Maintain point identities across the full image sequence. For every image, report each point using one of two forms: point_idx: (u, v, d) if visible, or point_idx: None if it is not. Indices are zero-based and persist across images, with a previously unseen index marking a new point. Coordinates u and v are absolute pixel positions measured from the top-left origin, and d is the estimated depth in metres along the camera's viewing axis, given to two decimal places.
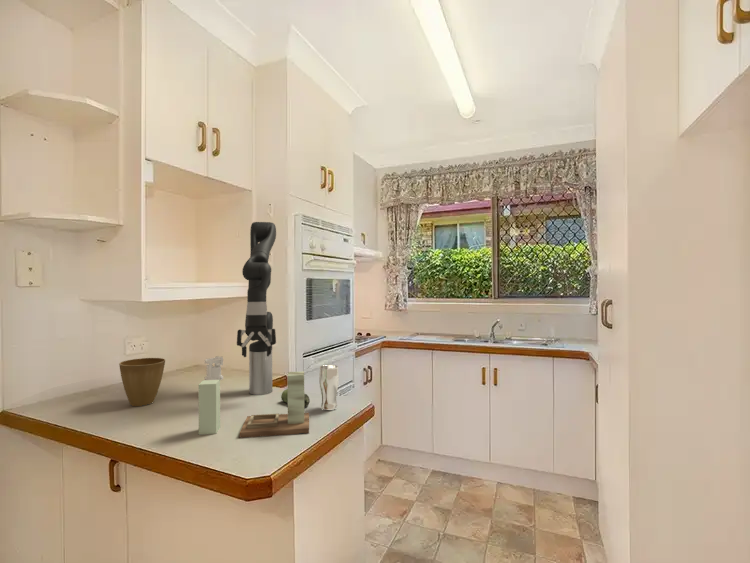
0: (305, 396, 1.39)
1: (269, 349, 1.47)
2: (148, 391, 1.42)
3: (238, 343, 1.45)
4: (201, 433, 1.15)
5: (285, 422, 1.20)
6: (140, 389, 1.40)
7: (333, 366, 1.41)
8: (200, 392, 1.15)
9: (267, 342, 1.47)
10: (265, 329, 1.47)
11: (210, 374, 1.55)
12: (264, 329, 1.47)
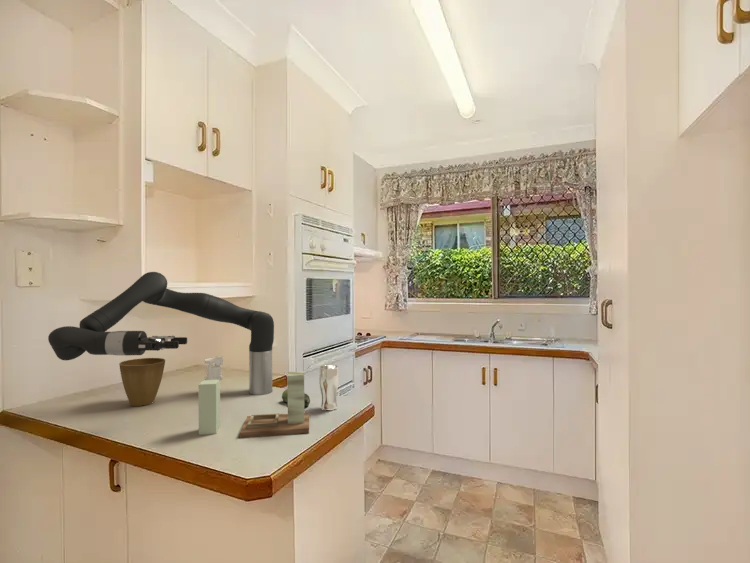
0: (305, 396, 1.40)
1: (168, 347, 1.17)
2: (148, 391, 1.42)
3: None
4: (201, 433, 1.15)
5: (285, 422, 1.20)
6: (140, 389, 1.40)
7: (333, 366, 1.41)
8: (200, 392, 1.15)
9: (159, 348, 1.17)
10: None
11: (210, 374, 1.55)
12: None
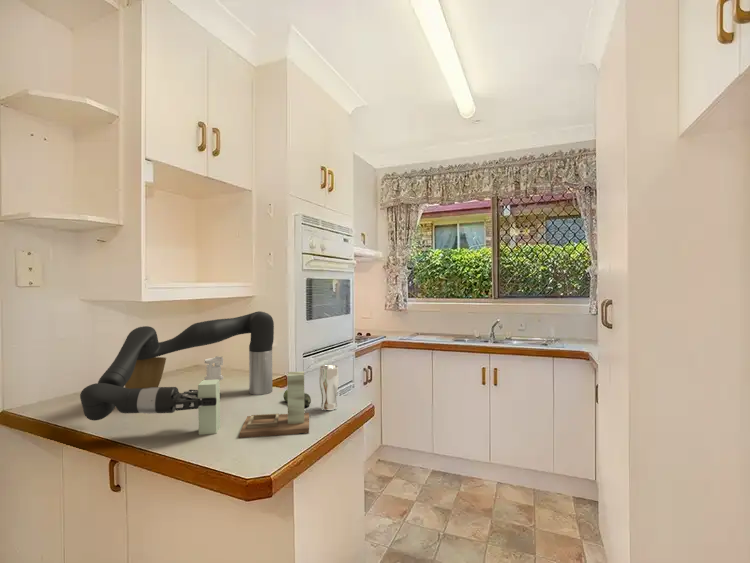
0: (306, 396, 1.40)
1: (206, 404, 1.14)
2: (146, 386, 1.42)
3: None
4: (201, 433, 1.15)
5: (285, 422, 1.20)
6: (138, 382, 1.41)
7: (333, 366, 1.41)
8: (200, 392, 1.15)
9: None
10: (176, 406, 1.12)
11: (210, 374, 1.55)
12: None
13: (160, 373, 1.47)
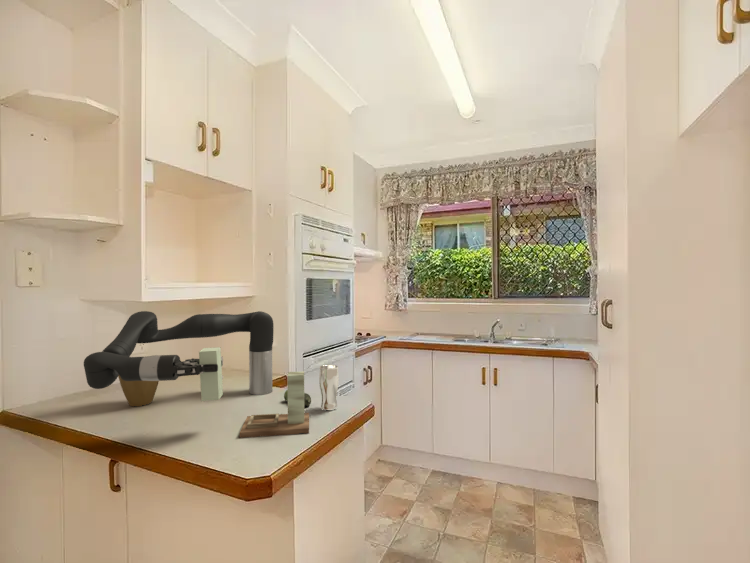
0: (306, 396, 1.40)
1: (208, 371, 1.14)
2: (145, 392, 1.41)
3: None
4: (204, 399, 1.16)
5: (285, 422, 1.20)
6: (137, 390, 1.39)
7: (333, 366, 1.41)
8: (201, 359, 1.15)
9: None
10: None
11: None
12: None
13: None
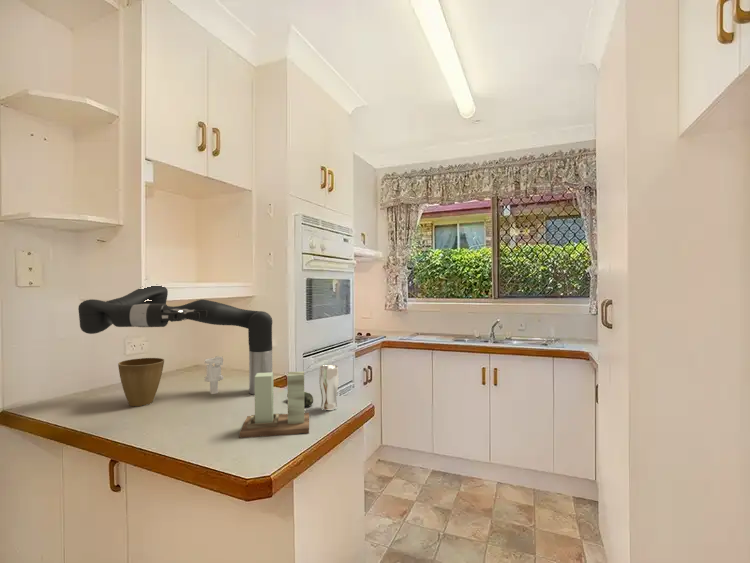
0: (308, 395, 1.40)
1: (190, 318, 1.21)
2: (147, 392, 1.42)
3: None
4: None
5: (285, 422, 1.20)
6: (139, 389, 1.40)
7: (333, 366, 1.41)
8: (256, 384, 1.18)
9: (181, 319, 1.21)
10: None
11: (210, 374, 1.55)
12: None
13: (160, 377, 1.46)
